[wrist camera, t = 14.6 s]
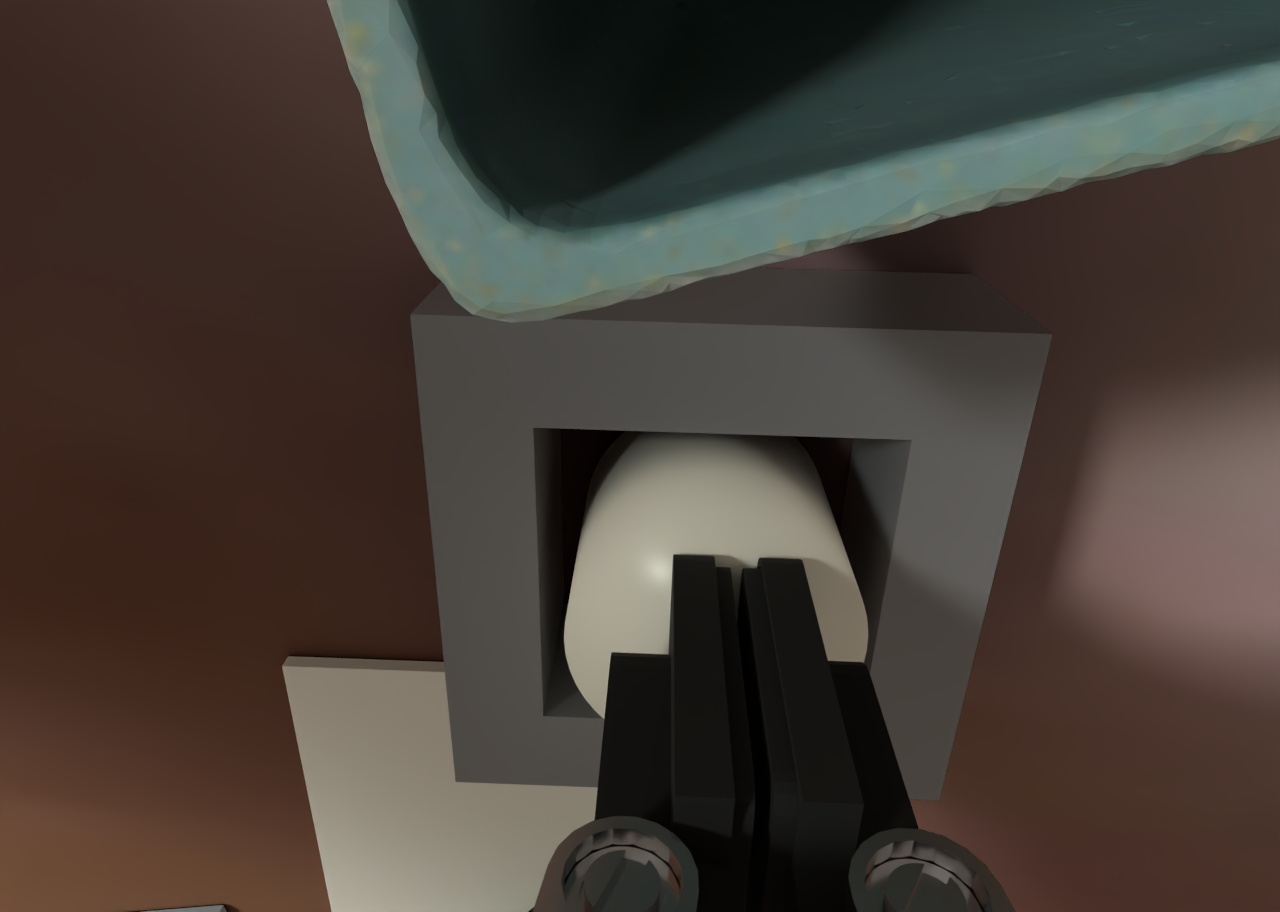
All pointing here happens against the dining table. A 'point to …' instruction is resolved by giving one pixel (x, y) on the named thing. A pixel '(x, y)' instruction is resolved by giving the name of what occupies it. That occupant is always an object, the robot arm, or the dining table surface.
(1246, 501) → the dining table surface
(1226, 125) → the flower pot
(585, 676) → the cream ball
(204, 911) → the card
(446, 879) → the paper
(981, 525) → the button box
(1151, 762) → the dining table surface
